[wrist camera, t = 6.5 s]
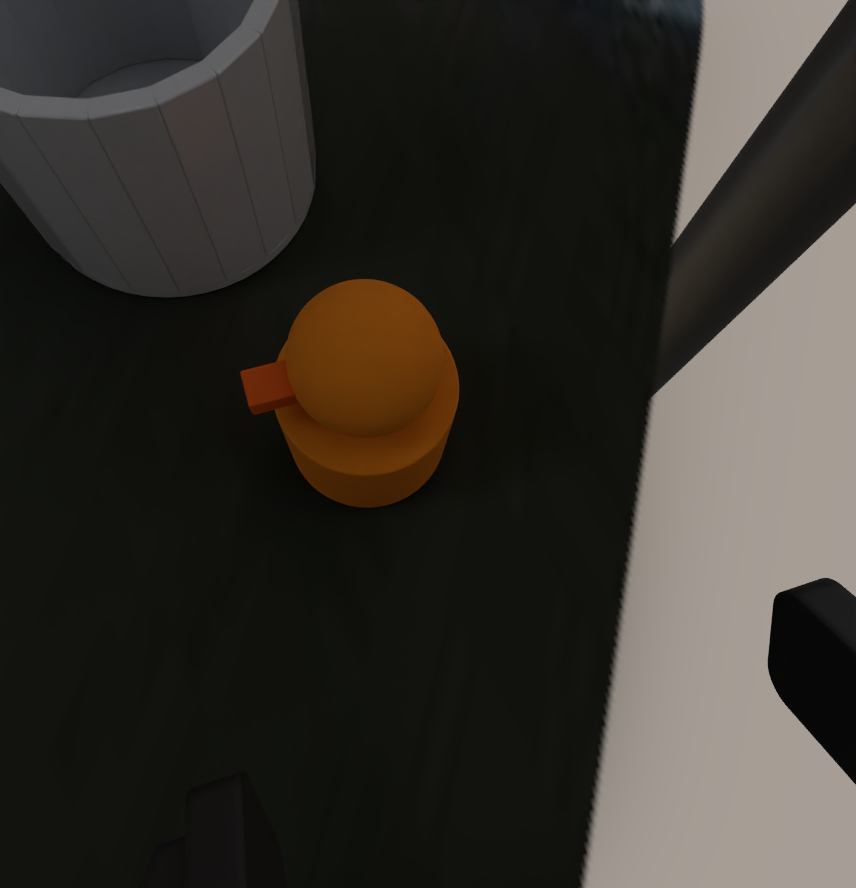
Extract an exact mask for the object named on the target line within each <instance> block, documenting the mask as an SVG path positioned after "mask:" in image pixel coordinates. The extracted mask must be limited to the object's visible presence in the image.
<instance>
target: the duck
mask: <svg viewBox="0 0 856 888" xmlns="http://www.w3.org/2000/svg"><path fill="white" fill-rule="evenodd" d="M240 375H241V378H242V382H243V386H244V390H245V394H246V398H247V401H248V405H249V407H250V409H251V411H252V413H253V414H254V415H256V414H260V413H263V412H267V411H271V410H275V412H276V415H277V418H278V421H279V423H280V426H281V428H282V431H283V433H284V436H285V438H286V441H287V443H288V445H289V448H290V450H291V453H292V455H293V458H294V460H295V462H296V464H297V466H298V468H299V470H300V472H301V473H302V474H303V476H304V477H305V479H306V480H307V481H308V482H309V483H310V484H311V485H312V486H313V487H314V488H315V489H316V490H318V491H319V492H320V493H322V494H323V495H325V496H326V497H328V498H330V499H332V500H334V501H337V502H339V503H342V504H345V505H349V506H355V507H368V508H370V507H380V506H385V505H389V504H392V503H395V502H398V501H400V500H402V499H404V498H406V497H408V496H410V495H411V494H413V493H414V492H415V491H417V490H418V489H419V488H420V487H421V486H423V485H424V484H425V483H426V481H427V480H428V479H429V478H430V477H431V475H432V474H433V472H434V471H435V469H436V467H437V465H438V463H439V461H440V459H441V456H442V453H443V450H444V447H445V444H446V441H447V438H448V434H449V431H450V428H451V425H452V422H453V419H454V416H455V412H456V409H457V405H458V398H459V380H458V373H457V369H456V365H455V362H454V359H453V357H452V355H451V352H450V350H449V349H448V347H447V345H446V343H445V342H444V341H443V339H442V338H441V336H440V333H439V330H438V328H437V326H436V323H435V322H434V320H433V318H432V316H431V315H430V314H429V312H428V311H427V310H426V308H425V307H424V306H423V305H422V304H421V303H420V302H419V301H418V300H417V299H416V298H415V297H414V296H412V295H411V294H410V293H408V292H406V291H405V290H403V289H401V288H399V287H397V286H395V285H392V284H390V283H387V282H383V281H379V280H373V279H356V280H349V281H345V282H341V283H338V284H335V285H333V286H331V287H329V288H327V289H325V290H323V291H322V292H320V293H319V294H317V295H316V296H315V297H313V298H312V299H311V300H310V301H309V302H308V303H307V304H306V305H305V306H304V308H303V309H302V310H301V312H300V313H299V314H298V316H297V318H296V319H295V321H294V323H293V325H292V328H291V330H290V333H289V337H288V340H287V342H286V343H285V345H284V347H283V348H282V350H281V352H280V354H279V357H278V359H277V362H275V363H271V364H267V365H263V366H259V367H255V368H251V369H247V370H244V371H241V373H240Z"/></svg>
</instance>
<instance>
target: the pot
mask: <svg viewBox="0 0 856 888" xmlns="http://www.w3.org/2000/svg"><path fill="white" fill-rule="evenodd" d="M315 157H316V149H315V140H314V132H313V123H312V115H311V106H310V98H309V89H308V81H307V72H306V64H305V56H304V47H303V39H302V30H301V22H300V13H299V5H298V0H0V183H1V184H2V186H3V187H4V188H5V190H6V191H7V192H8V193H9V195H10V196H11V197H12V198H13V200H14V201H15V202H16V203H17V205H18V206H19V207H20V209H21V210H22V211H23V212H24V214H25V215H26V216H27V217H28V219H29V220H30V221H31V222H32V224H33V225H34V226H35V228H36V229H37V230H38V231H39V233H40V234H41V235H42V236H43V238H44V239H45V240H46V241H47V243H48V244H49V245H50V246H51V247H52V248H53V249H54V250H55V251H56V252H58V254H59V255H60V256H61V257H62V258H63V259H64V260H65V261H67V262H68V263H69V264H70V265H71V266H73V267H74V268H75V269H76V270H78V271H79V272H81V273H82V274H84V275H86V276H87V277H89V278H91V279H92V280H94V281H96V282H99V283H101V284H103V285H105V286H108V287H110V288H113V289H117V290H120V291H123V292H126V293H131V294H137V295H142V296H148V297H167V298H168V297H184V296H192V295H197V294H203V293H208V292H211V291H214V290H217V289H221V288H224V287H227V286H229V285H231V284H234V283H236V282H238V281H241V280H243V279H244V278H246V277H248V276H250V275H251V274H253V273H255V272H256V271H258V270H260V269H261V268H262V267H264V266H265V265H266V264H267V263H269V262H270V261H271V260H273V259H274V258H275V257H276V256H277V255H278V254H279V253H280V252H281V251H282V250H283V249H284V248H285V247H286V246H287V245H288V243H289V242H290V241H291V239H292V238H293V237H294V236H295V234H296V233H297V231H298V230H299V228H300V226H301V224H302V223H303V221H304V219H305V217H306V215H307V212H308V209H309V207H310V204H311V201H312V197H313V193H314V189H315V178H316V165H315Z"/></svg>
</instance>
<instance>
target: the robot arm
mask: <svg viewBox="0 0 856 888" xmlns="http://www.w3.org/2000/svg"><path fill="white" fill-rule="evenodd" d="M768 670H769V674H770V677H771V680H772V683H773V685H774V687H775V689H776V691H777V693H778V695H779V696H780V698H781V699H782V701H783V702H784V703H785V705H786V706H787V707H788V708H789V709H790V710H791V712H792V713H793V714H794V715H795V716H796V717H797V718H798V719H799V721H800V722H801V723H802V724H803V725H804V726H805V727H806V729H807V730H808V731H809V732H810V733H811V734H812V735H813V737H814V738H815V739H816V740H817V741H818V742H819V743H820V744H821V746H822V747H823V748H824V749H825V750H826V751H827V752H828V753H829V755H830V756H831V757H832V758H833V759H834V760H835V762H836V763H837V764H838V765H839V766H840V767H841V768H842V769H843V771H844V772H845V773H846V774H847V775H848V776H849V777H850V779H851V780H852V781H853V782H854V783H855V784H856V597H855V596H854V595H852V594H851V593H850V592H849V591H848V590H846V588H844V587H843V586H842V585H841V584H839V583H838V582H836V581H834V580H832V579H829V578H822V579H818V580H815V581H813V582H810V583H807V584H804V585H801V586H798V587H795V588H792V589H789V590H786V591H783V592H780V593H778V594H777V595H776V597H775V599H774V603H773V612H772V623H771V633H770V644H769V654H768ZM138 888H287V884H286V876H285V869H284V864H283V859H282V855H281V851H280V847H279V844H278V840H277V837H276V835H275V832H274V830H273V828H272V826H271V823H270V821H269V819H268V817H267V815H266V813H265V810H264V808H263V806H262V804H261V802H260V800H259V797H258V795H257V793H256V791H255V789H254V786H253V784H252V782H251V780H250V778H249V776H248V774H247V773H246V772H245V771H241V772H238V773H235V774H232V775H230V776H227V777H224V778H221V779H218V780H215V781H212V782H209V783H206V784H203V785H200V786H197V787H194V788H191V789H190V790H189V791H188V794H187V799H186V828H185V836H184V837H182V838H179V839H176V840H173V841H170V842H167V843H164V844H161V845H158V846H156V847H155V850H154V852H153V854H152V857H151V859H150V861H149V864H148V866H147V868H146V871H145V873H144V875H143V878H142V880H141V882H140V885H139V887H138Z"/></svg>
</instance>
